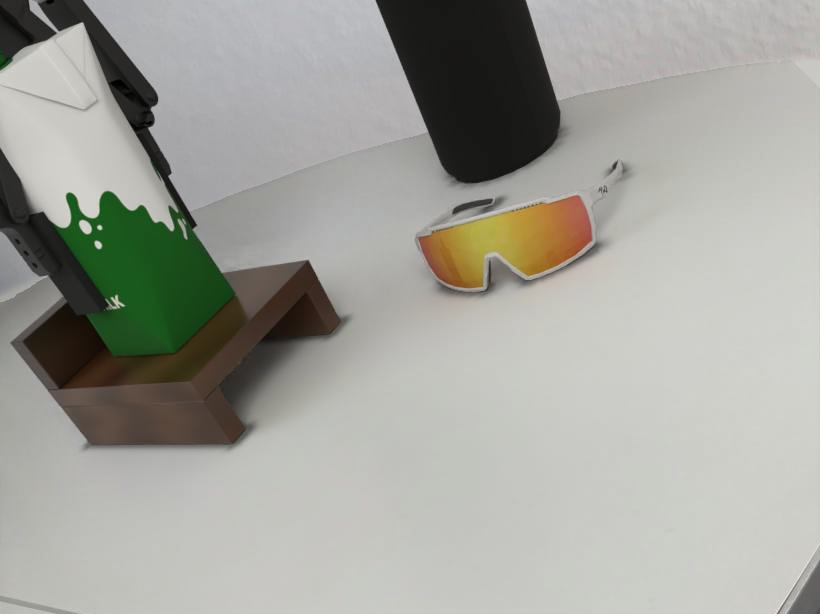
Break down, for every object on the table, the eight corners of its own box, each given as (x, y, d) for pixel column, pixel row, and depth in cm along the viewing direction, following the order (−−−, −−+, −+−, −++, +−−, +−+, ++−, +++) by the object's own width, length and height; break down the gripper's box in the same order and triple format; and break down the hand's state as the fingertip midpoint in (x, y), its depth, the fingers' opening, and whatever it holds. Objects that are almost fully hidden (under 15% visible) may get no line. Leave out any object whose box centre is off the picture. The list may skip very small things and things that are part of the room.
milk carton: (98, 366, 71) (-114, 77, 58) (176, 293, 75) (-5, 9, 62) (175, 362, 66) (-39, 44, 52) (254, 284, 70) (74, -27, 57)
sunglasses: (410, 312, 69) (382, 241, 66) (479, 233, 79) (458, 169, 76) (603, 268, 62) (582, 188, 59) (650, 189, 73) (634, 117, 70)
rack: (90, 444, 75) (9, 342, 69) (198, 335, 82) (133, 234, 76) (232, 444, 66) (153, 326, 60) (341, 321, 73) (280, 205, 67)
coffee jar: (510, 121, 89) (430, -112, 77) (591, 121, 81) (516, -138, 69) (424, 184, 86) (327, -47, 74) (499, 190, 78) (404, -66, 66)
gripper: (-251, -53, 45) (66, 362, 60) (62, -205, 56) (265, 178, 71) (-310, -9, 49) (-1, 368, 64) (-8, -158, 60) (197, 194, 75)
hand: (138, 269), depth 67 cm, fingers closed on milk carton, 9 cm apart
